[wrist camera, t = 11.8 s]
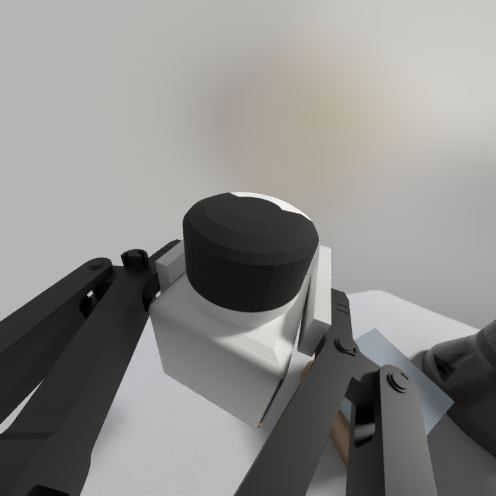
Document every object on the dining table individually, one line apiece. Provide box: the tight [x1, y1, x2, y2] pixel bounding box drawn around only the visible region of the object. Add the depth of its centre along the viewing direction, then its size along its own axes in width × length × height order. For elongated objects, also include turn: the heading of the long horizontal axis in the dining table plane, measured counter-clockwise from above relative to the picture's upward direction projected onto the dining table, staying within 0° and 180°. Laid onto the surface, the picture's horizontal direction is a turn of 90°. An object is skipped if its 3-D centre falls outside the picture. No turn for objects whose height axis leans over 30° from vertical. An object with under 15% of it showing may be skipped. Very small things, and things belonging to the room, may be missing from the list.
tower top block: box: [339, 329, 454, 436], centre depth 23 cm, size 9×9×4 cm
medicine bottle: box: [149, 192, 319, 428], centre depth 12 cm, size 7×7×12 cm
